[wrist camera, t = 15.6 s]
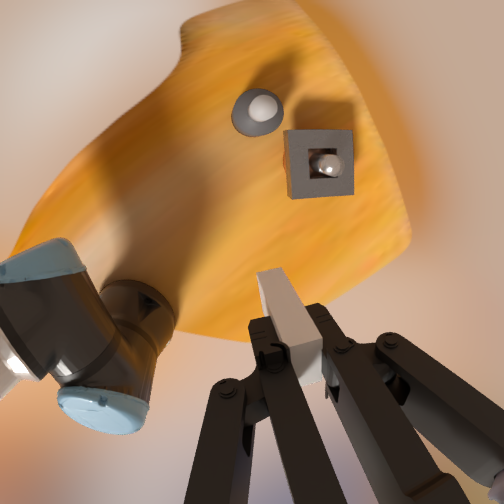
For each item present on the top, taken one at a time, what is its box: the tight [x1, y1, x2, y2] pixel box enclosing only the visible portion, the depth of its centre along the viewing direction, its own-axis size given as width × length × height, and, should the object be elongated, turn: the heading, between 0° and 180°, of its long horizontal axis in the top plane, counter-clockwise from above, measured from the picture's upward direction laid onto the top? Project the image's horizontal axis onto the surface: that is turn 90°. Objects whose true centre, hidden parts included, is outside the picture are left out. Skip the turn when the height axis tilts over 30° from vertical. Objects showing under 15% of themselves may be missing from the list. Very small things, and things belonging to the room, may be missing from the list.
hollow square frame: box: [283, 129, 354, 199], centre depth 34 cm, size 9×9×2 cm
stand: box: [231, 89, 284, 137], centre depth 30 cm, size 6×6×10 cm
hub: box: [283, 148, 345, 177], centre depth 34 cm, size 8×8×9 cm
